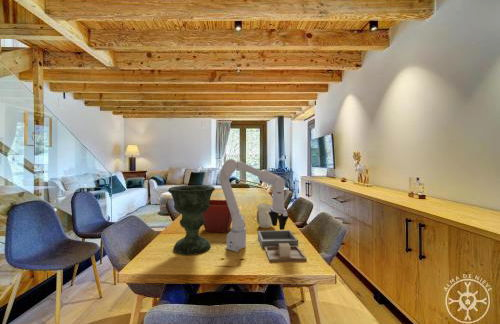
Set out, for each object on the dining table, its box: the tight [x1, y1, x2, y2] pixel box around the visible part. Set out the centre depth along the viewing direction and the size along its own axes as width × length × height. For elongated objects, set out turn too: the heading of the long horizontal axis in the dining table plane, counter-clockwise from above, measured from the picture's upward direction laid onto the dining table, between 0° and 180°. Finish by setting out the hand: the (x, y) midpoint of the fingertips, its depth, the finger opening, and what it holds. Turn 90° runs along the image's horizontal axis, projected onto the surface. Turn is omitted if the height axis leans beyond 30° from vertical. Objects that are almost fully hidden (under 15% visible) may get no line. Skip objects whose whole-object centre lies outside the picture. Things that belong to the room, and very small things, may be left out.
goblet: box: [167, 184, 216, 256], centre depth 134 cm, size 22×23×30 cm
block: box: [279, 243, 290, 257], centre depth 124 cm, size 4×4×4 cm
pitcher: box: [256, 202, 273, 229], centre depth 174 cm, size 11×18×14 cm, turn 8°
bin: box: [257, 229, 299, 249], centre depth 143 cm, size 18×18×4 cm
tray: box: [264, 245, 308, 263], centre depth 124 cm, size 16×16×2 cm
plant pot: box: [202, 199, 232, 233], centre depth 168 cm, size 19×19×17 cm
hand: (278, 227), depth 137 cm, fingers open, 7 cm apart
